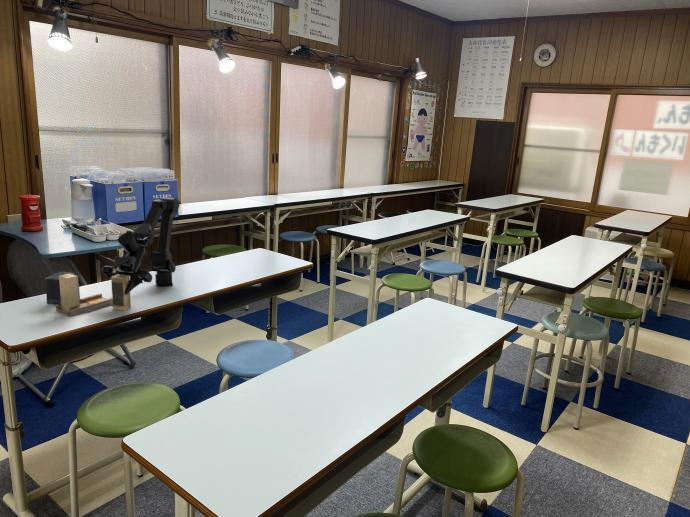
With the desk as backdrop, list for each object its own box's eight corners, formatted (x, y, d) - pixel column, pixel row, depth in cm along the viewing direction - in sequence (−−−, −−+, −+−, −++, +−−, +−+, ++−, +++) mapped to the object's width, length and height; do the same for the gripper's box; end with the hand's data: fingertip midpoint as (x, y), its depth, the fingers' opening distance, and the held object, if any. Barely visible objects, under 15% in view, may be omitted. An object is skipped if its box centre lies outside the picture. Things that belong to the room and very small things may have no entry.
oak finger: (119, 305, 198) (117, 274, 195) (130, 307, 198) (129, 275, 194) (112, 309, 194) (110, 277, 191) (124, 311, 193) (122, 278, 190)
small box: (62, 305, 196) (60, 279, 193) (46, 304, 196) (43, 278, 193) (77, 296, 206) (75, 272, 203) (61, 295, 206) (59, 271, 203)
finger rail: (100, 298, 205) (98, 265, 202) (115, 303, 201) (113, 269, 197) (56, 311, 189) (52, 275, 186) (71, 316, 185) (68, 279, 182)
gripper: (102, 245, 195) (86, 280, 188) (147, 249, 193) (132, 285, 185) (115, 260, 205) (100, 294, 197) (158, 264, 202) (145, 299, 194)
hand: (119, 293), depth 193 cm, fingers closed on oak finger, 5 cm apart
